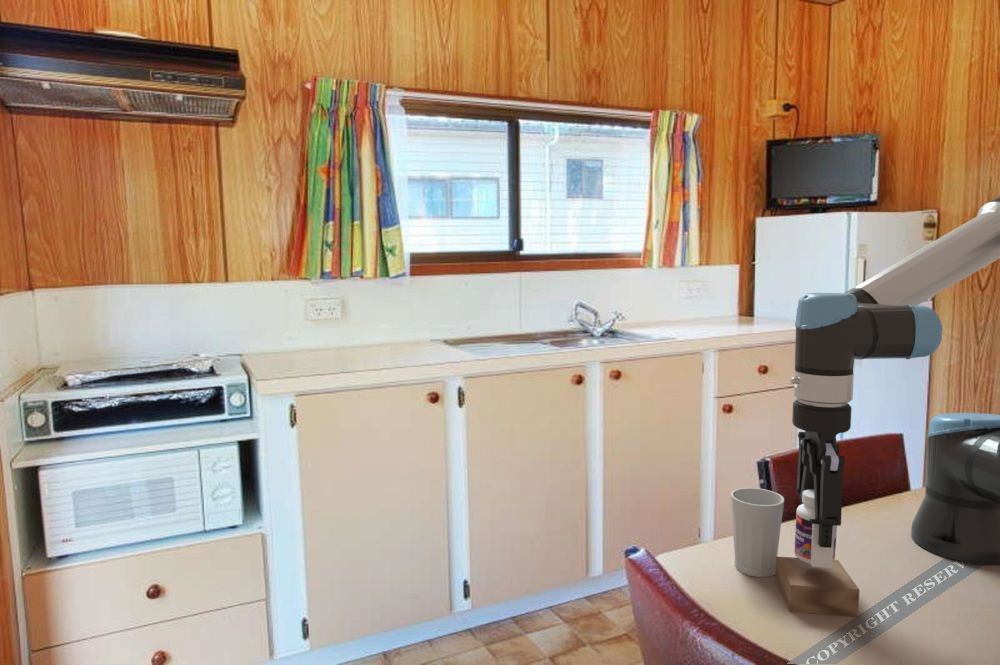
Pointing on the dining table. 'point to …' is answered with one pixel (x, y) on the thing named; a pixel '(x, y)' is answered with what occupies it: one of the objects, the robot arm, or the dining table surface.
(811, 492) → the pill bottle
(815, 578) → the base
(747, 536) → the cup
